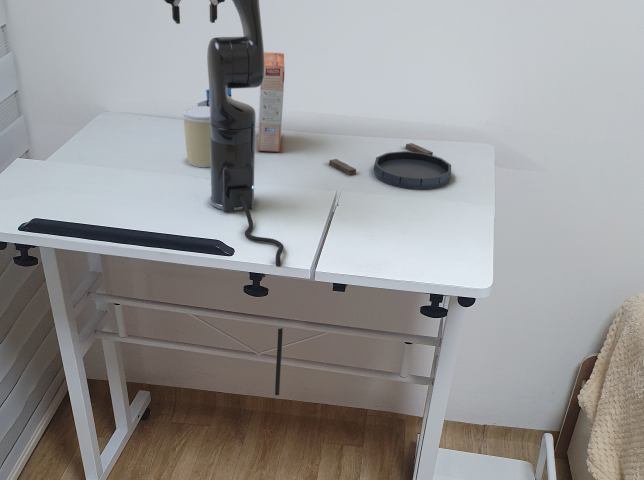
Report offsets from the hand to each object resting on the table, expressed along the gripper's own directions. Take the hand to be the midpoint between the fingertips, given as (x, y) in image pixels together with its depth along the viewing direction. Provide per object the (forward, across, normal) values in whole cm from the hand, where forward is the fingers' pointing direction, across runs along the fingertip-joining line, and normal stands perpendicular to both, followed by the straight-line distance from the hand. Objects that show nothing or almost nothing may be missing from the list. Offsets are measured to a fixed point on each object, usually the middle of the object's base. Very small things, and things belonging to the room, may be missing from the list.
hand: (195, 22), depth 172 cm
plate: (+29, +44, -36) cm, 63 cm away
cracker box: (+28, +18, -6) cm, 34 cm away
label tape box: (+28, +6, +5) cm, 29 cm away
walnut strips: (+28, +41, -25) cm, 56 cm away
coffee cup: (+28, -3, -15) cm, 32 cm away
